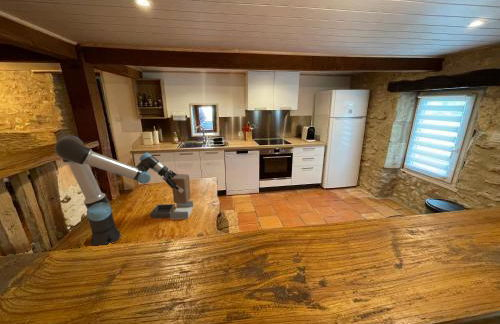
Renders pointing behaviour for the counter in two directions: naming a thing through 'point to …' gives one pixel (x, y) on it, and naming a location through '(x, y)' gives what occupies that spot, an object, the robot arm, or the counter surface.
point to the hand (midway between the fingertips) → (184, 188)
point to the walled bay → (182, 211)
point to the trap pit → (162, 211)
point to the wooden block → (183, 183)
